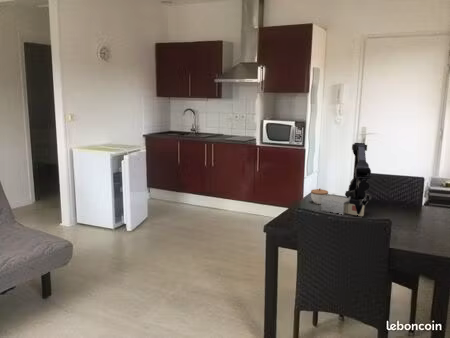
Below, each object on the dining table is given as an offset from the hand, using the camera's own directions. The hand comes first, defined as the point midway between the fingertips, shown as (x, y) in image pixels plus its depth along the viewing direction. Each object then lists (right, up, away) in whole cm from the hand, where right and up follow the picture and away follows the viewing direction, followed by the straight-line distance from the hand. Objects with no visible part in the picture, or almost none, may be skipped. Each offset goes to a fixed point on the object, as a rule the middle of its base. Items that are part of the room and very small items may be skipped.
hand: (359, 213), depth 237 cm
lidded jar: (-17, +4, +27) cm, 32 cm away
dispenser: (-11, +1, +9) cm, 15 cm away
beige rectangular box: (-6, 0, +5) cm, 8 cm away
